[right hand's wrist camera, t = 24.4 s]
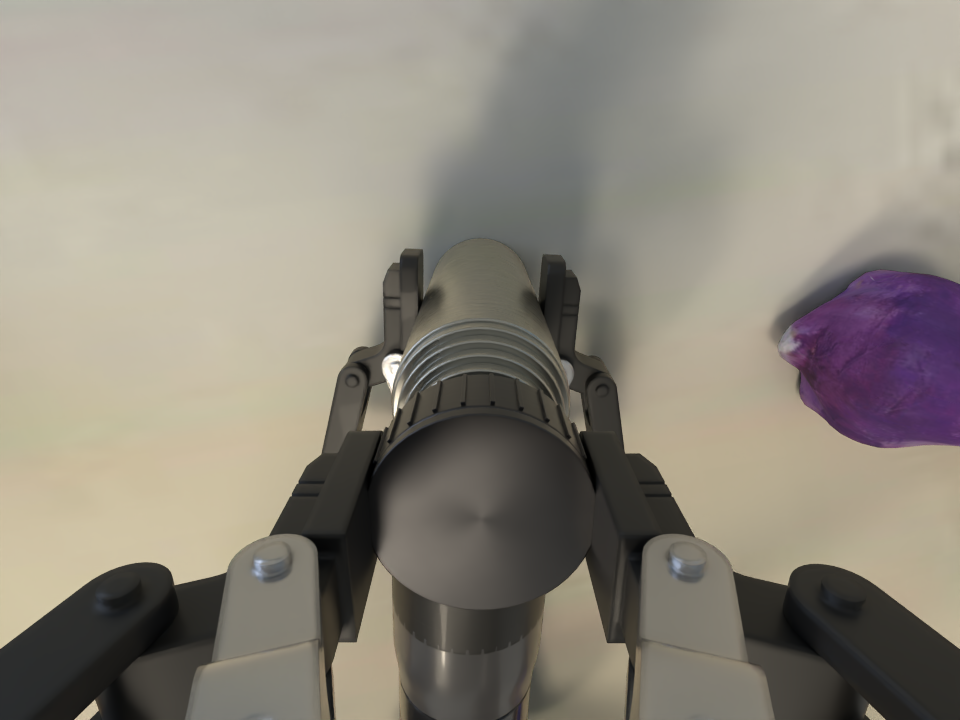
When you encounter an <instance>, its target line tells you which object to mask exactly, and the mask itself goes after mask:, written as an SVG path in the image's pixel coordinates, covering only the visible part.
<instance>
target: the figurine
mask: <svg viewBox="0 0 960 720" xmlns="http://www.w3.org/2000/svg"><path fill="white" fill-rule="evenodd" d="M778 353H779V355H780V356H781V357H782V358H783V359H784V360H786V361H787V362H789V363H790V364H792V365H793V366H795V367H796V368H798V369H799V370H800V373H801V383H800V397H801V399H802V401H803V402H804V404H805V405H806V406H808V407H809V408H811V409H812V410H814V411H815V412H817V413H818V414H819V415H820V416H821V417H823V418H824V419H825V420H826V421H827V422H828V423H829V424H830V425H831V426H832V427H833V428H834V429H836V430H837V431H838V432H839V433H841V434H843V435H845V436H846V437H848V438H850V439H852V440H855V441H857V442H860V443H863V444H867V445H870V446H874V447H879V448H900V447H911V446H920V445H950V446H960V284H958V283H955V282H953V281H950V280H947V279H944V278H941V277H937V276H933V275H928V274H918V273H907V272H897V271H890V270H882V269H880V270H875V271H871V272H866V273H864V274H863V275H862V276H860V277H859V278H857V279H856V280H855V281H853V282H852V283H850V284H849V286H848V288H847V289H846V290H845V291H843V292H842V293H840V294H839V295H838V296H836V297H835V298H833V299H832V300H830V301H828V302H826V303H824V304H823V305H821V306H819V307H818V308H816V309H814V310H813V311H811V312H810V313H808V314H806V315H805V316H803V317H802V318H800V319H798V320H796V321H795V322H794V323H793V324H792V325H790V327H789V328H788V329H787V330H786V331H785V333H784V334H783V336H782V337H781V340H780V342H779V345H778Z"/></svg>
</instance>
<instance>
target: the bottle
mask: <svg viewBox="0 0 960 720" xmlns="http://www.w3.org/2000/svg"><path fill="white" fill-rule="evenodd" d="M489 373H493V374H494V375H495V376H501V377H506V378H511V379H514V380H515V378H518V379H519V380H520V382H523V383H525V384H527V385H529V386H532V387H534V388H536V389H537V390H539V388H540V389H541V390H543V394H545V395H546V396H548V397H549V398H550V399H551V400H552V401H554V402H555V403H556V404H557V405H558V404H560V405H561V406H562V408H563V412H564V413H565V414H566V416H567V417H568V419H569V410H570V409H569V406H570V390H569V384H568V379H567V376H566V373H565V370H564V368H563V365H562V362H561V360H560V357H559V355H558V352H557V349H556V347H555V344H554V342H553V339H552V336H551V334H550V331H549V329H548V326H547V323H546V321H545V318H544V316H543V313H542V310H541V308H540V305H539V303H538V300H537V297H536V295H535V292H534V290H533V287H532V284H531V282H530V279H529V277H528V274H527V271H526V269H525V267H524V265H523V263H522V261H521V260H520V258H519V257H518V256H517V254H516V253H515V252H514V251H512V250H511V249H510V248H509V247H507V246H506V245H504V244H502V243H500V242H497V241H494V240H491V239H482V238H478V239H470V240H466V241H463V242H461V243H459V244H457V245H455V246H453V247H452V248H451V249H449V250H448V251H447V252H446V253H445V254H444V255H443V256H442V258H441V259H440V261H439V262H438V264H437V266H436V268H435V271H434V273H433V276H432V279H431V281H430V284H429V287H428V289H427V292H426V295H425V297H424V300H423V303H422V305H421V308H420V310H419V313H418V316H417V318H416V321H415V324H414V326H413V329H412V332H411V334H410V337H409V340H408V342H407V345H406V348H405V350H404V353H403V356H402V358H401V361H400V364H399V366H398V369H397V372H396V375H395V378H394V382H393V387H392V415H393V419H394V417H395V414H396V411H397V409H398V408H400V409H402V407H403V406H404V405H405V404H406V403H407V402H408V401H410V400H411V399H412V398H413V397H414V395H415V393H416V392H419V393H420V392H422V391H423V390H425V389H427V388H428V387H430V386H433V385H435V384H437V381H439V380H441V381H445V380H448V379H452V378H455V377H461V376H463V374H467V375H489Z"/></svg>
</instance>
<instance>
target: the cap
mask: <svg viewBox="0 0 960 720" xmlns="http://www.w3.org/2000/svg"><path fill="white" fill-rule="evenodd" d="M585 459H587V456H586V454H585V451H584V448H583V445H582V442H581V439H580V436H579V433H578V431H577V428H576V425H575V423H574V422H573V423H571V422H570V420H569V419H568V417H567V416H566V414H565V413H564V412H563V408H562V406H561V405H560V404H558V405H557V404H556V403H555V402H554V401H552V400H551V399H550V398H549V397H548V396H546V395H545V394H543V390H541V389H540V388H539V390H537V389H536V388H534V387H532V386H529V385H527V384H525V383H523V382H520V380H519V379H518V378H515V380H514V379H511V378H506V377H501V376H495V375H494V374H493V373H489V375H467V374H463V376H461V377H455V378H452V379H448V380H445V381H441V380H439V381H437V384H435V385H433V386H430V387H428V388H427V389H425V390H423V391H422V392H420V393H419V392H416V393H415V395H414V397H413V398H412V399H411V400H410V401H408V402H407V403H406V404H405V405H404V406H403V407H402V409H400V408H398V409H397V411H396V414H395V417H394V419H393V420H392V422H391V424H390V426H389V428H387V427H385V429H384V432H383V435H382V438H381V441H380V444H379V447H378V450H377V452H376V455H375V458H374V461H373V464H375V467H374V470H373V473H372V476H371V479H370V482H369V485H368V489H367V491H368V505H369V517H370V529H371V541H372V548H373V550H374V552H375V554H376V556H377V557H378V559H379V560H380V562H381V563H382V565H383V566H384V567H385V568H386V569H387V571H388V572H389V573H390V574H391V575H392V576H393V577H394V578H395V579H397V580H398V581H399V582H400V583H401V584H402V585H404V586H405V587H407V588H408V589H410V590H411V591H413V592H414V593H416V594H418V595H420V596H422V597H424V598H426V599H429V600H431V601H433V602H436V603H439V604H443V605H446V606H450V607H455V608H461V609H469V610H494V609H502V608H508V607H512V606H516V605H520V604H523V603H526V602H529V601H532V600H534V599H536V598H538V597H540V596H542V595H544V594H546V593H548V592H550V591H551V590H553V589H554V588H556V587H557V586H559V585H560V584H561V583H562V582H564V581H565V580H566V579H567V578H568V577H569V576H570V575H571V574H572V573H573V572H574V571H575V570H576V569H577V568H578V566H579V565H580V564H581V562H582V561H583V559H584V558H585V556H586V554H587V553H588V551H589V549H590V547H591V541H592V530H593V518H594V506H595V493H596V492H595V487H594V483H593V480H592V477H591V475H590V471H589V468H588V465H587V462H586V460H585Z"/></svg>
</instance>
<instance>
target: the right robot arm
mask: <svg viewBox="0 0 960 720" xmlns="http://www.w3.org/2000/svg"><path fill="white" fill-rule="evenodd" d="M382 435H383V431H348V433H347V435H346V437H345V439H344V441H343V443H342V445H341V448H340V450H339V452H338V453H323V454H322V455H320V456H319V457H318V458H317V459H315V460H314V461H313V462H311V463H310V464H309V465H308V466H307V467H306V468H305V470H304V472H303V474H302V476H301V478H300V480H299V484H297V485H296V487H295V489H294V491H293V493H292V497H290V498H289V500H288V502H287V504H286V506H285V507H284V509H283V511H282V513H281V515H280V517H279V519H278V520H277V522H276V524H275V526H274V528H273V530H272V532H271V533H270V535H269V536H268V537H265V538H262V539H259V540H257V541H255V542H253V543H251V544H249V545H247V546H246V547H245V548H243V549H242V550H240V551H239V552H238V553H237V554H236V555H235V556H234V558H233V559H232V560H231V562H230V564H229V566H228V570H227V572H226V573H224V574H221V575H218V576H214V577H210V578H205V579H201V580H197V581H192V582H188V583H183V584H179V585H174V581H173V577H172V574H171V572H170V571H169V569H168V568H166V567H165V566H163V565H160V564H157V563H148V562H143V563H134V564H129V565H125V566H122V567H118V568H116V569H113V570H110V571H108V572H106V573H104V574H102V575H100V576H98V577H96V578H95V579H93V580H92V581H90V582H89V583H87V584H86V585H84V586H83V587H82V588H80V589H79V590H78V591H76V592H75V593H74V594H72V595H71V596H70V597H69V598H67V599H66V600H65V601H63V602H62V603H61V604H59V605H58V606H57V607H55V608H54V609H53V610H51V611H50V612H49V613H47V614H46V615H45V616H43V617H42V618H41V619H40V620H38V621H37V622H36V623H34V624H33V625H32V626H30V627H29V628H28V629H26V630H25V631H24V632H22V633H21V634H20V635H18V636H17V637H16V638H14V639H13V640H12V641H10V642H9V643H8V644H7V645H5V646H4V647H3V648H1V649H0V720H74V719H75V718H76V717H77V716H78V715H79V714H80V713H81V712H82V711H83V710H84V709H85V708H86V707H88V706H89V705H90V704H91V703H92V702H93V701H94V700H96V703H97V706H98V709H99V711H98V712H97V713H96V714H95V715H94V716H93V717H92V718H91V719H90V720H336V712H335V696H334V679H333V670H332V662H333V659H334V656H335V652H336V649H337V645H338V642H357V638H358V633H359V629H360V625H361V621H362V617H363V613H364V609H365V605H366V601H367V597H368V593H369V589H370V585H371V581H372V577H373V573H374V569H375V565H376V561H377V556H376V554H375V552H374V550H373V548H372V541H371V529H370V517H369V505H368V491H367V489H368V485H369V482H370V479H371V476H372V473H373V470H374V467H375V464H373V461H374V458H375V455H376V452H377V450H378V447H379V444H380V441H381V438H382ZM579 436H580V439H581V442H582V445H583V448H584V451H585V454H586V456H587V459H585V460H586V462H587V465H588V468H589V471H590V475H591V477H592V480H593V483H594V487H595V492H596V493H595V506H594V518H593V530H592V541H591V547H590V549H589V551H588V553H587V554H586V556H585V557H586V561H587V565H588V569H589V573H590V577H591V581H592V585H593V589H594V593H595V597H596V601H597V605H598V608H599V612H600V616H601V620H602V624H603V628H604V632H605V636H606V640H607V643H626V646H627V650H628V653H629V662H628V670H627V679H626V696H625V712H624V720H870V719H869V718H868V717H867V716H866V715H865V713H866V710H867V708H868V705H869V704H870V705H871V706H872V707H874V708H875V709H876V710H877V711H878V712H879V713H880V714H881V715H882V716H883V717H884V718H885V719H886V720H960V649H959V648H957V647H956V646H955V645H954V644H952V643H951V642H950V641H948V640H947V639H946V638H944V637H943V636H942V635H940V634H939V633H938V632H936V631H935V630H934V629H932V628H931V627H930V626H928V625H927V624H926V623H924V622H923V621H922V620H921V619H919V618H918V617H917V616H915V615H914V614H913V613H911V612H910V611H909V610H907V609H906V608H905V607H903V606H902V605H901V604H899V603H898V602H897V601H895V600H894V599H893V598H891V597H890V596H889V595H888V594H886V593H885V592H884V591H882V590H881V589H880V588H878V587H877V586H876V585H874V584H873V583H871V582H870V581H868V580H866V579H865V578H863V577H861V576H859V575H857V574H855V573H853V572H850V571H848V570H845V569H842V568H838V567H835V566H830V565H823V564H809V565H803V566H801V567H798V568H797V569H795V570H794V571H793V572H792V573H791V576H790V579H789V583H788V586H786V585H782V584H777V583H773V582H769V581H764V580H760V579H755V578H751V577H748V576H744V575H741V574H738V573H736V572H733V570H732V566H731V564H730V562H729V560H728V559H727V558H726V556H725V555H724V554H723V553H722V552H721V551H720V550H718V549H717V548H715V547H714V546H713V545H711V544H709V543H707V542H705V541H703V540H701V539H698V538H695V536H694V534H693V532H692V531H691V529H690V527H689V525H688V523H687V522H686V520H685V518H684V516H683V514H682V512H681V511H680V509H679V507H678V505H677V503H676V501H675V500H674V498H673V497H672V496H671V492H670V490H669V489H668V487H667V485H665V481H664V480H663V478H662V476H661V474H660V472H659V470H658V469H657V467H656V466H655V465H654V464H652V463H651V462H650V461H649V460H647V459H646V458H645V457H643V456H642V455H641V454H625V452H624V450H623V448H622V446H621V443H620V441H619V439H618V437H617V435H616V433H615V432H614V431H581V432H580V433H579Z"/></svg>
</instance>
